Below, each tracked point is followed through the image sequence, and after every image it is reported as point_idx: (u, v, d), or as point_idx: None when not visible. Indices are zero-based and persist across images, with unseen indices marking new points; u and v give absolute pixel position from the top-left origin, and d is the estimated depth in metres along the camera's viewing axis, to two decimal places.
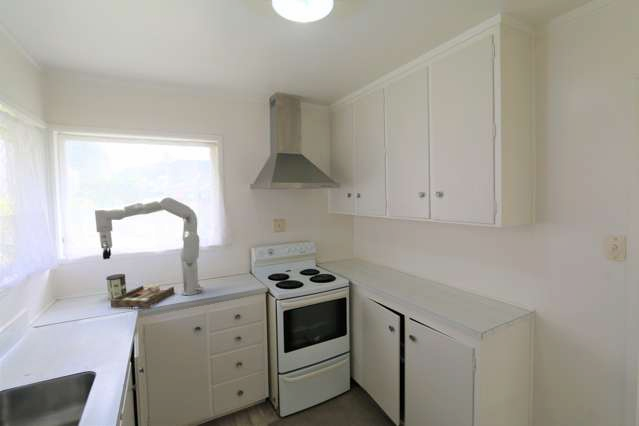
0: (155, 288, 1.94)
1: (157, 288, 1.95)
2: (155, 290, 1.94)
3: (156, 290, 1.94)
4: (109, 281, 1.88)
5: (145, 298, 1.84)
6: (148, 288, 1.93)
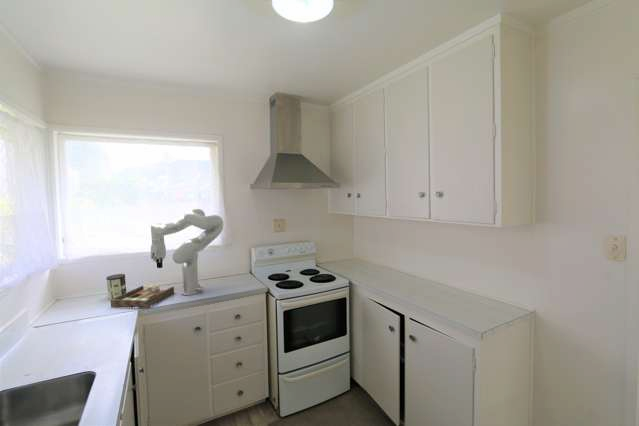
0: (155, 288, 1.94)
1: (157, 288, 1.95)
2: (155, 290, 1.94)
3: (156, 290, 1.94)
4: (109, 281, 1.88)
5: (145, 298, 1.84)
6: (148, 288, 1.93)
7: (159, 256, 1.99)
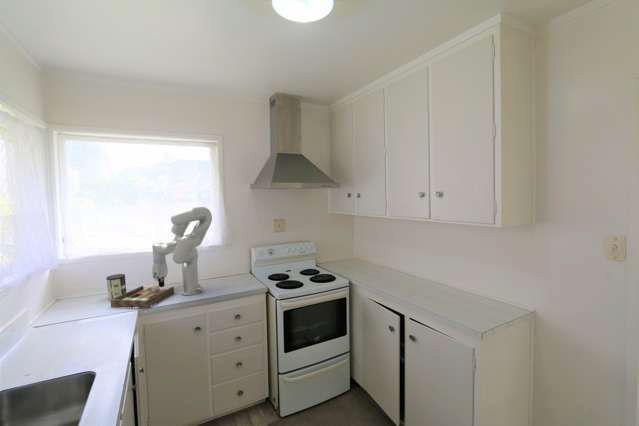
0: (155, 288, 1.94)
1: (157, 288, 1.95)
2: (155, 290, 1.94)
3: (156, 290, 1.94)
4: (109, 281, 1.88)
5: (145, 298, 1.84)
6: (148, 288, 1.93)
7: (161, 275, 2.00)
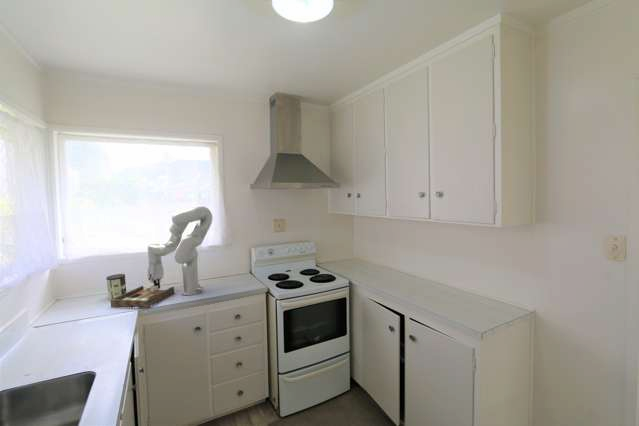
0: (154, 289, 1.92)
1: (156, 289, 1.94)
2: (154, 291, 1.92)
3: (155, 291, 1.93)
4: (109, 281, 1.88)
5: (145, 298, 1.84)
6: (147, 289, 1.92)
7: (156, 277, 1.96)
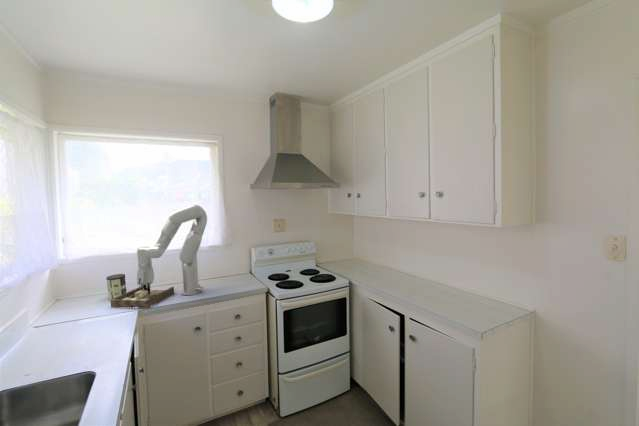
0: (143, 294, 1.83)
1: (145, 294, 1.85)
2: (143, 296, 1.83)
3: (144, 296, 1.84)
4: (109, 281, 1.88)
5: (145, 298, 1.84)
6: (136, 294, 1.83)
7: (146, 281, 1.86)
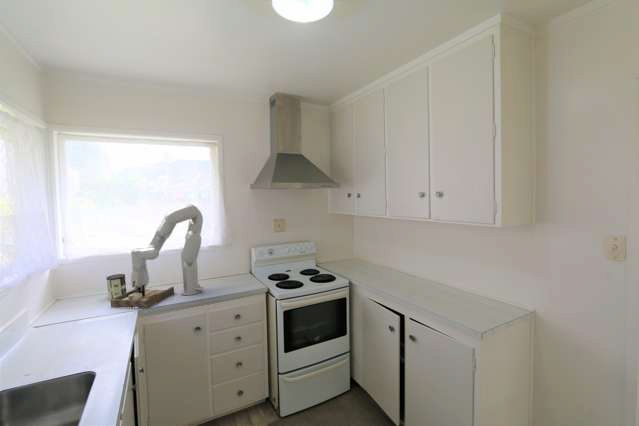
0: (137, 296, 1.79)
1: (139, 296, 1.81)
2: (137, 299, 1.79)
3: (138, 299, 1.80)
4: (109, 281, 1.88)
5: (145, 298, 1.84)
6: (129, 296, 1.78)
7: (141, 284, 1.82)
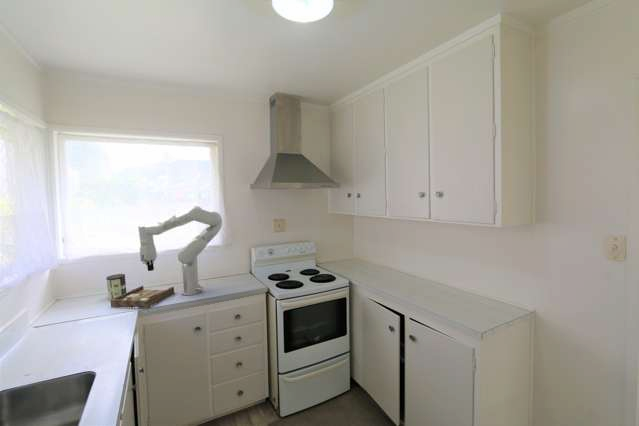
0: (135, 298, 1.77)
1: (137, 297, 1.79)
2: None
3: None
4: (109, 281, 1.88)
5: (145, 298, 1.84)
6: (127, 297, 1.77)
7: (149, 258, 1.88)
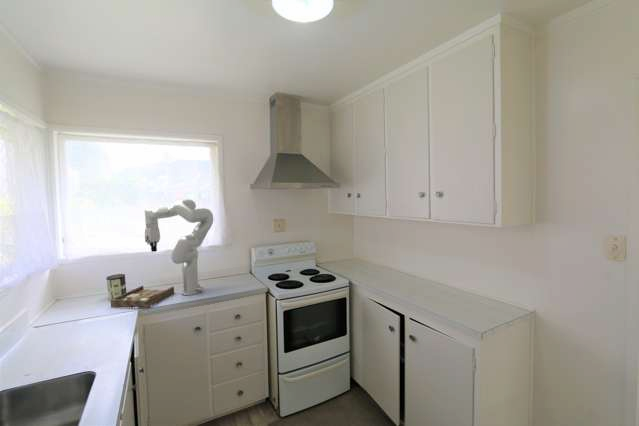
0: (135, 298, 1.77)
1: (137, 297, 1.79)
2: None
3: None
4: (109, 281, 1.88)
5: (145, 298, 1.84)
6: (127, 297, 1.77)
7: (153, 239, 2.03)
